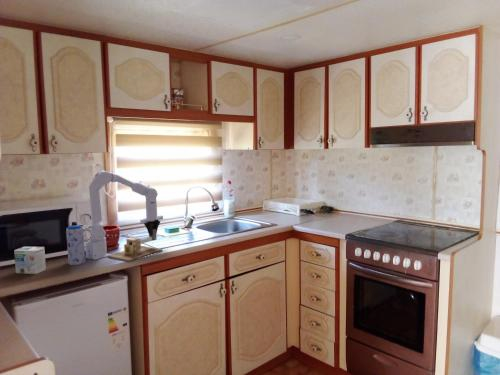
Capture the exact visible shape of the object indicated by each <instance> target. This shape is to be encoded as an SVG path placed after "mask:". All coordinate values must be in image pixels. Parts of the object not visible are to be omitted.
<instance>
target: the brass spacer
mask: <svg viewBox="0 0 500 375" xmlns="http://www.w3.org/2000/svg"><path fill="white" fill-rule="evenodd" d="M123 246H124V247H123V248H124V250H123V251H125V254H126V255H134V250H133V245H130V244H127V243H124V244H123ZM128 248H129V249H128Z"/></svg>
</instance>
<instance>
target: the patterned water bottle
mask: <svg viewBox="0 0 500 375" xmlns="http://www.w3.org/2000/svg"><path fill="white" fill-rule="evenodd" d="M65 234H66V244H67V245H66V246H67V257H68V258H67V259H68V261H67V264H68V265H71V266H74V265H75V266H77V265H81V264H84V263H86V262H87V261H86V249H85V238H84V237H85V236H84V228H83V226H82V225H80V224H78V222H77V221H72V222H71V224H70V225H68V227H66V231H65Z"/></svg>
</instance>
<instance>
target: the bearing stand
mask: <svg viewBox="0 0 500 375" xmlns="http://www.w3.org/2000/svg"><path fill="white" fill-rule="evenodd" d="M140 239H141V238H139V237H134V236H133V237H129V238H126V240H125V241H126V244H130V245H133V250H134V255H126V254H125V251H124V250H122V251H118V252H116V253H112V254H111V255H108V256H107V258H109V259H113V260H117V261H123V262H126V263H131V262H134V261H137V260H140V259H143V258H146V257H149V256H152V255H151V254H153V255H155V254H154V253H156V254H158V253H157V252H159V253H161V252H160V251H162V252H163V249H161V248H158V247H157V248H156V247H150V246H145V245H142V244H141V240H140ZM128 249H129V248H128ZM148 255H149V256H148ZM145 256H146V257H145Z"/></svg>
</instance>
